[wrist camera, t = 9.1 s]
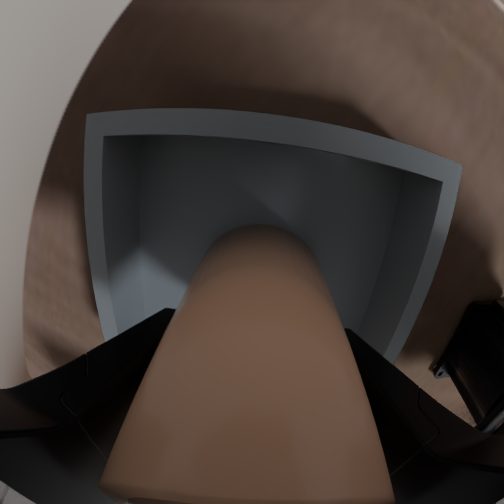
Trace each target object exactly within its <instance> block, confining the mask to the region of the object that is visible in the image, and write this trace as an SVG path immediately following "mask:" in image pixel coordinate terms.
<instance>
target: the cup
mask: <svg viewBox="0 0 504 504" xmlns="http://www.w3.org/2000/svg"><path fill="white" fill-rule="evenodd" d="M98 487H99V489H100V490H101V492H102V493H103V494H105V495H106V496H107V497H108V498H110V499H111V500H113V501H114V502H116V503H118V504H394V503H395V498H394V494H393V489H392V485H391V480H390V476H389V472H388V468H387V464H386V460H385V456H384V452H383V449H382V445H381V441H380V438H379V434H378V431H377V427H376V424H375V420H374V417H373V414H372V410H371V407H370V404H369V400H368V397H367V394H366V391H365V388H364V385H363V382H362V379H361V376H360V373H359V370H358V367H357V364H356V361H355V358H354V355H353V352H352V349H351V346H350V344H349V341H348V338H347V335H346V333H345V330H344V327H343V324H342V322H341V319H340V316H339V314H338V311H337V308H336V306H335V303H334V301H333V298H332V296H331V293H330V290H329V288H328V285H327V283H326V280H325V278H324V276H323V273H322V271H321V268H320V266H319V263H318V261H317V259H316V256H315V255H314V253H313V252H312V250H311V249H310V247H309V246H308V245H307V244H306V243H305V242H304V241H303V240H302V239H301V238H299V237H298V236H296V235H295V234H293V233H292V232H289V231H287V230H285V229H283V228H280V227H276V226H271V225H262V224H256V225H247V226H242V227H239V228H236V229H233V230H231V231H229V232H227V233H225V234H224V235H222V236H221V237H219V238H218V239H217V240H216V241H215V242H214V243H213V244H212V245H211V246H210V247H209V248H208V250H207V251H206V253H205V255H204V256H203V258H202V260H201V262H200V264H199V266H198V268H197V270H196V272H195V273H194V275H193V277H192V279H191V281H190V283H189V285H188V287H187V289H186V291H185V293H184V295H183V297H182V299H181V301H180V303H179V305H178V307H177V309H176V311H175V313H174V315H173V317H172V319H171V321H170V323H169V325H168V327H167V329H166V331H165V333H164V335H163V337H162V339H161V341H160V343H159V345H158V347H157V349H156V351H155V354H154V356H153V358H152V360H151V362H150V364H149V366H148V368H147V371H146V373H145V375H144V377H143V379H142V382H141V384H140V386H139V388H138V390H137V393H136V395H135V397H134V399H133V402H132V404H131V406H130V408H129V411H128V413H127V415H126V418H125V420H124V422H123V425H122V427H121V429H120V432H119V434H118V436H117V439H116V441H115V444H114V446H113V448H112V451H111V453H110V456H109V458H108V461H107V463H106V466H105V469H104V471H103V474H102V476H101V479H100V482H99V484H98Z"/></svg>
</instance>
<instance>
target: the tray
mask: <svg viewBox="0 0 504 504" xmlns="http://www.w3.org/2000/svg"><path fill="white" fill-rule="evenodd" d="M462 166H463V165H461V164H458V163H456V162H453V161H451V160H449V159H446V158H444V157H441V156H438V155H436V154H433V153H431V152H428V151H425V150H422V149H419V148H417V147H414V146H411V145H408V144H405V143H401V142H398V141H395V140H392V139H388V138H385V137H382V136H378V135H374V134H371V133H367V132H363V131H359V130H355V129H351V128H347V127H342V126H338V125H333V124H328V123H323V122H318V121H313V120H307V119H302V118H296V117H289V116H282V115H275V114H267V113H258V112H248V111H237V110H223V109H202V108H153V109H133V110H119V111H108V112H99V113H91V114H87V115H86V126H85V141H84V210H85V225H86V237H87V246H88V255H89V263H90V270H91V276H92V283H93V288H94V294H95V299H96V304H97V309H98V314H99V318H100V323H101V327H102V331H103V335H104V339H105V342H106V341H108V340H110V339H111V338H113V337H115V336H117V335H118V334H120V333H122V332H124V331H125V330H127V329H129V328H131V327H132V326H134V325H136V324H138V323H139V322H141V321H143V320H145V319H146V318H148V317H150V316H152V315H153V314H155V313H157V312H159V311H160V310H162V309H164V308H173V309H177V307H178V305H179V303H180V301H181V299H182V297H183V295H184V293H185V291H186V289H187V287H188V285H189V283H190V281H191V279H192V277H193V275H194V273H195V272H196V270H197V268H198V266H199V264H200V262H201V260H202V258H203V256H204V255H205V253H206V251H207V250H208V248H209V247H210V246H211V245H212V244H213V243H214V242H215V241H216V240H217V239H218V238H219V237H221V236H222V235H224V234H225V233H227V232H229V231H231V230H233V229H236V228H239V227H242V226H247V225H256V224H262V225H271V226H276V227H280V228H283V229H285V230H287V231H289V232H292V233H293V234H295V235H296V236H298V237H299V238H301V239H302V240H303V241H304V242H305V243H306V244H307V245H308V246H309V247H310V249H311V250H312V252H313V253H314V255H315V256H316V259H317V261H318V263H319V266H320V268H321V271H322V273H323V276H324V278H325V280H326V283H327V285H328V288H329V290H330V293H331V296H332V298H333V301H334V303H335V306H336V308H337V311H338V314H339V316H340V319H341V322H342V324H343V327H344V328H349V329H351V330H352V331H353V332H355V333H356V334H357V335H358V336H359V337H361V338H362V339H363V340H364V341H365V342H366V343H368V344H369V345H370V346H371V347H372V348H374V349H375V350H376V351H377V352H378V353H380V354H381V355H382V356H383V357H384V358H386V359H387V360H388V361H389V362H390V363H392V364H393V365H394V363H395V361H396V359H397V358H398V356H399V354H400V352H401V350H402V348H403V346H404V344H405V342H406V340H407V338H408V336H409V334H410V332H411V330H412V328H413V326H414V324H415V321H416V319H417V317H418V315H419V313H420V310H421V308H422V306H423V303H424V301H425V298H426V296H427V293H428V291H429V288H430V286H431V283H432V280H433V278H434V275H435V272H436V269H437V267H438V264H439V261H440V258H441V254H442V251H443V248H444V245H445V242H446V238H447V235H448V231H449V227H450V224H451V220H452V216H453V212H454V207H455V203H456V198H457V194H458V189H459V183H460V178H461V172H462Z"/></svg>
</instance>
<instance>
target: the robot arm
mask: <svg viewBox="0 0 504 504" xmlns="http://www.w3.org/2000/svg"><path fill="white" fill-rule="evenodd" d="M175 311H176V309H173V308H164V309H162V310H160V311H159V312H157V313H155V314H153V315H152V316H150V317H148V318H146V319H145V320H143V321H141V322H139V323H138V324H136V325H134V326H132V327H131V328H129V329H127V330H125V331H124V332H122V333H120V334H118V335H117V336H115V337H113V338H111V339H110V340H108V341H106V342H104V343H103V344H101V345H99V346H97V347H96V348H94V349H92V350H90V351H89V352H87V353H86V354H83V355H81V356H80V357H78V358H76V359H74V360H72V361H71V362H69V363H67V364H65V365H63V366H61V367H59V368H57V369H55V370H52V371H50V372H48V373H46V374H43V375H41V376H39V377H36V378H34V379H32V380H30V381H27V382H25V383H22V384H20V385H18V386H15V387H12V388H7V389H0V504H118V503H116V502H114V501H113V500H111V499H110V498H108V497H107V496H106V495H105V494H103V493H102V492H101V490H100V489H99V487H98V484H99V482H100V479H101V476H102V474H103V471H104V469H105V466H106V463H107V461H108V458H109V456H110V453H111V451H112V448H113V446H114V444H115V441H116V439H117V436H118V434H119V432H120V429H121V427H122V425H123V422H124V420H125V418H126V415H127V413H128V411H129V408H130V406H131V404H132V402H133V399H134V397H135V395H136V393H137V390H138V388H139V386H140V384H141V382H142V379H143V377H144V375H145V373H146V371H147V368H148V366H149V364H150V362H151V360H152V358H153V356H154V354H155V351H156V349H157V347H158V345H159V343H160V341H161V339H162V337H163V335H164V333H165V331H166V329H167V327H168V325H169V323H170V321H171V319H172V317H173V315H174V313H175ZM344 330H345V333H346V335H347V338H348V341H349V344H350V346H351V349H352V352H353V355H354V358H355V361H356V364H357V367H358V370H359V373H360V376H361V379H362V382H363V385H364V388H365V391H366V394H367V397H368V400H369V404H370V407H371V410H372V414H373V417H374V420H375V424H376V427H377V431H378V434H379V438H380V441H381V445H382V449H383V452H384V456H385V460H386V464H387V468H388V472H389V476H390V480H391V485H392V489H393V494H394V498H395V503H394V504H504V300H495V301H493V302H481V301H475V302H473V303H472V304H471V305H470V306H469V308H468V310H467V312H466V314H465V316H464V318H463V320H462V322H461V324H460V326H459V328H458V330H457V332H456V334H455V336H454V338H453V339H452V341H451V343H450V345H449V347H448V348H447V350H446V352H445V354H444V355H443V357H442V359H441V360H440V362H439V364H438V365H437V367H436V368H435V370H434V372H433V375H434V376H435V378H444V377H450V378H451V379H452V381H453V383H454V385H455V386H456V388H457V390H458V392H459V393H460V395H461V397H462V399H463V401H464V402H465V404H466V406H467V408H468V410H469V412H470V414H471V415H472V417H473V419H474V421H475V423H476V426H475V427H472V426H471V425H469V424H468V423H467V422H465V421H464V420H462V419H461V418H459V417H458V416H456V415H455V414H454V413H452V412H451V411H449V410H448V409H447V408H445V407H444V406H442V405H441V404H440V403H438V402H437V401H436V400H435V399H433V398H432V397H431V396H430V395H428V394H427V393H426V392H425V391H424V390H423V389H421V388H419V386H418V385H416V384H415V383H414V382H413V381H412V380H411V379H409V378H408V377H407V376H406V375H405V374H403V373H402V372H401V371H400V370H399V369H397V368H396V367H395V366H394V365H393V364H392V363H390V362H389V361H388V360H387V359H386V358H384V357H383V356H382V355H381V354H380V353H378V352H377V351H376V350H375V349H374V348H372V347H371V346H370V345H369V344H368V343H366V342H365V341H364V340H363V339H362V338H361V337H359V336H358V335H357V334H356V333H355V332H353V331H352V330H351V329H349V328H344Z"/></svg>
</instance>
